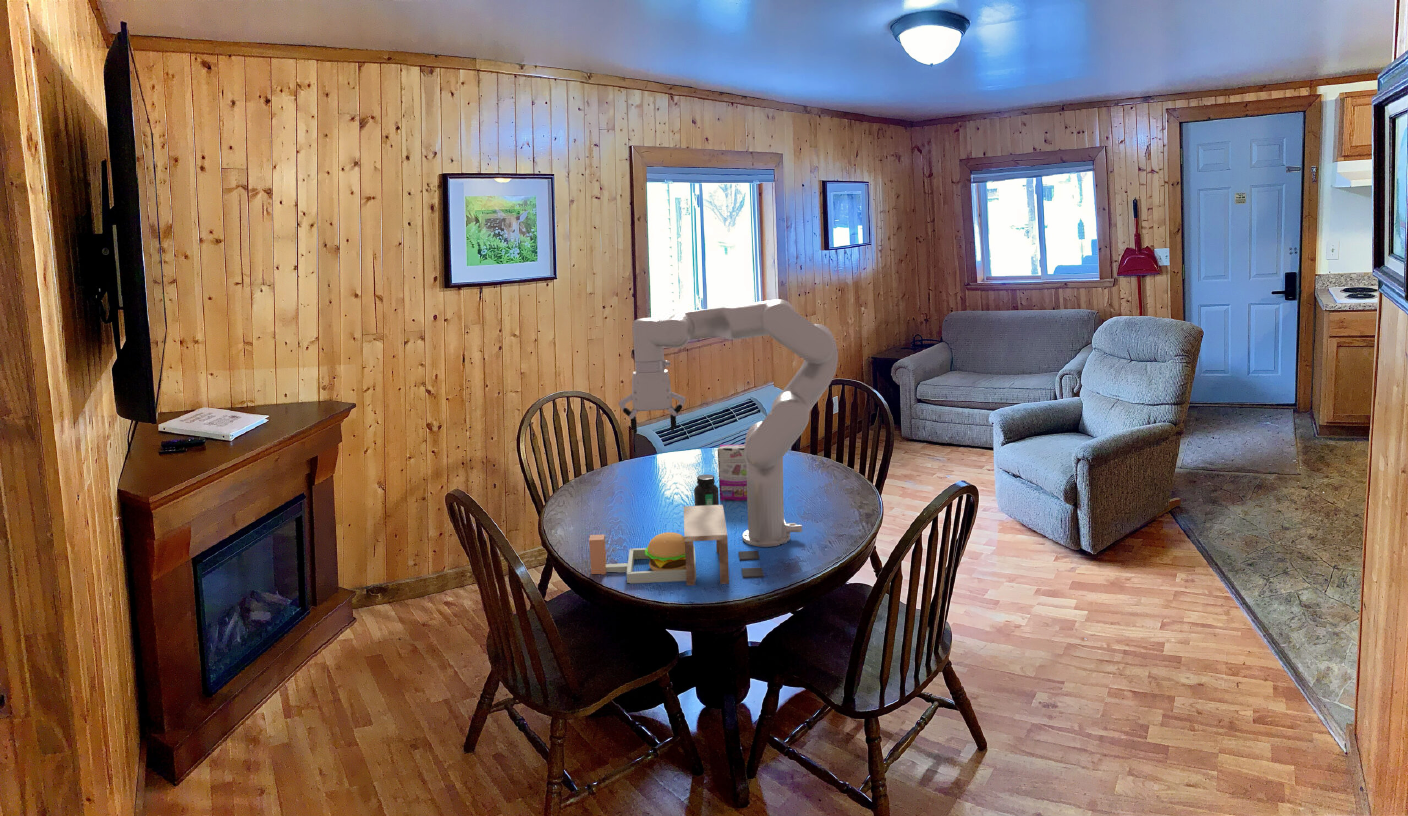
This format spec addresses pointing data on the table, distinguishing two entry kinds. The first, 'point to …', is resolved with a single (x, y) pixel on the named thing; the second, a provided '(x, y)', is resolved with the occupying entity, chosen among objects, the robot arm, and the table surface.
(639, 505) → the table surface
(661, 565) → the hamburger
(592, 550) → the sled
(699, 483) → the supplement bottle
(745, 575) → the pit square
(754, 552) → the pit square
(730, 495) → the candy bar box
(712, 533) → the tunnel
